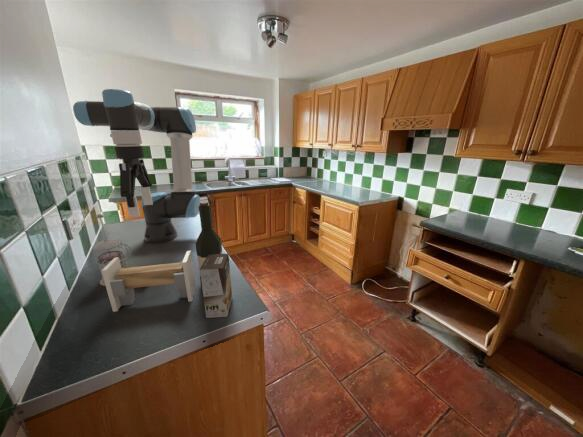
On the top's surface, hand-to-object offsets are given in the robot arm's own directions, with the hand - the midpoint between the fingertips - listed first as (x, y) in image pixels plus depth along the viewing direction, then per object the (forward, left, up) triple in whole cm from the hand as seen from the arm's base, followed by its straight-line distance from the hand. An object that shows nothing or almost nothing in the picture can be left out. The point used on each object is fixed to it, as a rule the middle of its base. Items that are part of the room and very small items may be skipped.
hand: (142, 210), depth 82 cm
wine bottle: (+10, +22, -26) cm, 35 cm away
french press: (-2, -13, -26) cm, 30 cm away
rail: (+14, +5, -20) cm, 25 cm away
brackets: (+15, +5, -26) cm, 30 cm away
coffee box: (+24, +25, -26) cm, 43 cm away
